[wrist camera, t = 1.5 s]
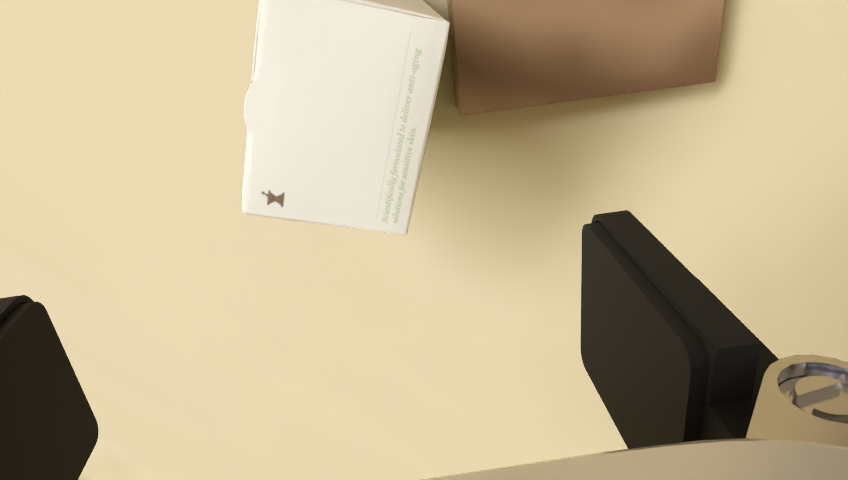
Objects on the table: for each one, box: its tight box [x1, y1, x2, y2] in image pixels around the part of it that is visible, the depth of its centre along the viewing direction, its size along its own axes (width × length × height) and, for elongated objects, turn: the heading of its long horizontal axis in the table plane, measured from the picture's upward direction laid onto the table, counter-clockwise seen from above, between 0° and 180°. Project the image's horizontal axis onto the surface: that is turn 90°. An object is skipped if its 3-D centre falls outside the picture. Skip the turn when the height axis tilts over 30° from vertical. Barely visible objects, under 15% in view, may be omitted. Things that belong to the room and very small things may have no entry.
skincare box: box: [242, 0, 450, 235], centre depth 28 cm, size 8×7×16 cm
